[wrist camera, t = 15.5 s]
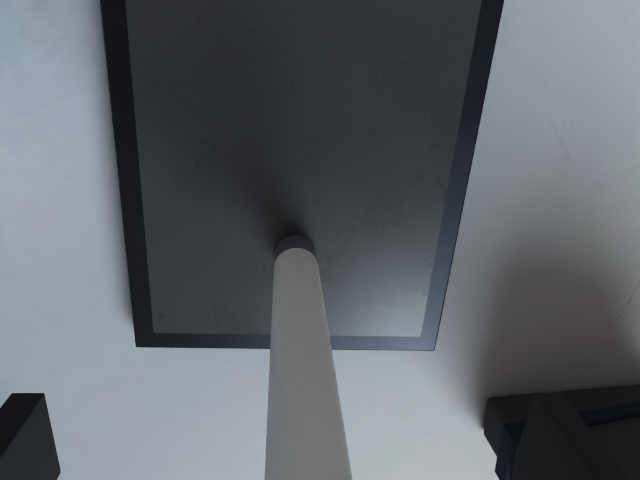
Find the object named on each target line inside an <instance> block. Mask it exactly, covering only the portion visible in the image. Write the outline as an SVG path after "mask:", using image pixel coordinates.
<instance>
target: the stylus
mask: <svg viewBox="0 0 640 480" xmlns="http://www.w3.org/2000/svg"><path fill="white" fill-rule="evenodd" d="M265 480H352V474H351V468H350V461H349V455H348V449H347V443H346V436H345V430H344V424H343V418H342V412H341V405H340V399H339V393H338V387H337V380H336V374H335V368H334V362H333V356H332V349H331V343H330V337H329V331H328V324H327V318H326V312H325V306H324V300H323V293H322V287H321V281H320V275H319V268H318V262H317V256H316V250H315V247H314V245H313V244H312V242H311V241H310V240H308V239H307V238H305V237H303V236H298V235H293V236H288V237H286V238H284V239H283V240H281V241H280V242H279V243H278V245H277V247H276V249H275V256H274V279H273V302H272V324H271V347H270V370H269V393H268V415H267V438H266V461H265Z"/></svg>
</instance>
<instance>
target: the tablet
mask: <svg viewBox="0 0 640 480" xmlns="http://www.w3.org/2000/svg"><path fill="white" fill-rule="evenodd" d="M503 3H504V0H100V5H101V15H102V24H103V34H104V44H105V53H106V63H107V73H108V82H109V92H110V102H111V111H112V121H113V131H114V140H115V150H116V159H117V169H118V179H119V188H120V198H121V208H122V217H123V227H124V237H125V246H126V256H127V266H128V275H129V285H130V295H131V304H132V314H133V324H134V333H135V343H136V347H165V348H248V349H270V347H271V324H272V302H273V279H274V256H275V249H276V247H277V245H278V243H279V242H280V241H281V240H283V239H284V238H286V237H288V236H293V235H298V236H303V237H305V238H307V239H308V240H310V241H311V242H312V244H313V245H314V247H315V250H316V256H317V262H318V268H319V275H320V281H321V287H322V293H323V300H324V306H325V312H326V318H327V324H328V331H329V337H330V343H331V349H332V350H416V351H434V350H435V345H436V340H437V335H438V330H439V325H440V320H441V315H442V310H443V305H444V300H445V295H446V290H447V285H448V280H449V275H450V270H451V265H452V260H453V255H454V250H455V245H456V240H457V235H458V230H459V225H460V220H461V215H462V210H463V204H464V199H465V194H466V189H467V184H468V179H469V174H470V169H471V164H472V159H473V154H474V149H475V144H476V139H477V134H478V129H479V124H480V119H481V114H482V109H483V104H484V99H485V94H486V89H487V84H488V79H489V74H490V69H491V64H492V58H493V53H494V48H495V43H496V38H497V33H498V28H499V23H500V18H501V13H502V8H503Z"/></svg>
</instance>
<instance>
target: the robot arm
mask: <svg viewBox="0 0 640 480" xmlns="http://www.w3.org/2000/svg"><path fill="white" fill-rule="evenodd" d="M512 465H513V467H514V468H515V470H516V472H517V474H518V476H519V477H520V479H521V480H630V478H629V477H628V476H627V475H626V473H625V472H624V471H623V470H622V469H621V467H620V466H619V465H618V464H617V462H616V461H615V460H614V459H613V457H612V456H611V455H610V454H609V452H608V451H607V450H606V449H605V447H604V446H603V445H602V444H601V442H600V441H599V440H598V439H597V438H596V436H595V435H594V434H593V433H592V431H591V430H590V429H589V428H588V426H587V425H586V424H585V423H584V421H583V420H582V419H581V418H580V416H579V415H578V414H577V413H576V412H575V410H574V409H573V408H572V407H571V405H570V404H569V403H568V402H567V400H566V399H565V398H564V397H563V395H562V394H561V393H535V395H534V398H533V402H532V405H531V408H530V411H529V414H528V417H527V420H526V423H525V426H524V430H523V433H522V436H521V439H520V442H519V445H518V448H517V451H516V455H515V458H514V461H513V464H512ZM60 472H61V471H60V466H59V461H58V457H57V452H56V447H55V442H54V438H53V433H52V428H51V423H50V419H49V414H48V409H47V405H46V400H45V395H44V393H12V394H11V395H10V396H9V398H8V399H7V400H6V402H5V403H4V404H3V405H2V407H1V408H0V480H57V478H58V476H59V474H60Z"/></svg>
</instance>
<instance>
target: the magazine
mask: <svg viewBox="0 0 640 480" xmlns="http://www.w3.org/2000/svg"><path fill="white" fill-rule="evenodd" d="M556 393H561V394H562V395H563V397H564V398H565V399H566V400H567V402H568V403H569V404H570V405H571V407H572V408H573V409H574V410H575V412H576V413H577V414H578V415H579V416H580V418H581V419H582V420H583V421H584V423H585V424H586V425H587V426H588V428H589V429H590V430H591V431H592V433H593V434H594V435H595V436H596V438H597V439H598V440H599V441H600V442H601V444H602V445H603V446H604V447H605V449H606V450H607V451H608V452H609V454H610V455H611V456H612V457H613V459H614V460H615V461H616V462H617V464H618V465H619V466H620V467H621V469H622V470H623V471H624V472H625V473H626V475H627V476H628V477H629V478H630V480H640V385H639V386H628V387H616V388H604V389H592V390H580V391H568V392H556ZM534 395H535V394H532V395H520V396H508V397H496V398H491V399H489V400H488V404H487V411H486V419H485V426H484V435H485V437H486V438H487V440H488V442H489V444H490V445H491V447H492V449H493V450H494V452H495V454H496V456H497V462H496V468H495V473H496V474H497V476H498V478H499V480H521V479H520V477H519V476H518V474H517V472H516V470H515V468H514V467H513V465H512V464H513V461H514V458H515V455H516V451H517V448H518V445H519V442H520V439H521V436H522V433H523V430H524V426H525V423H526V420H527V417H528V414H529V411H530V408H531V405H532V402H533V398H534Z"/></svg>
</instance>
